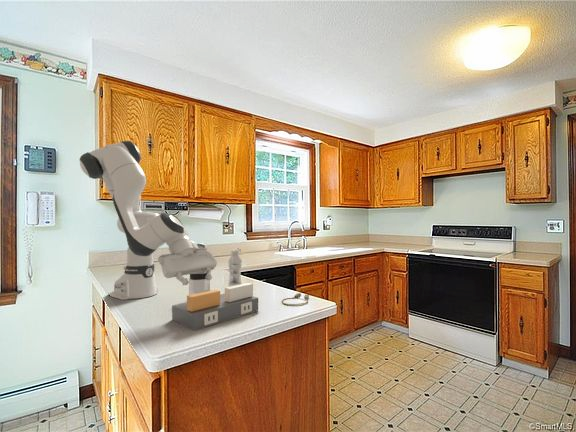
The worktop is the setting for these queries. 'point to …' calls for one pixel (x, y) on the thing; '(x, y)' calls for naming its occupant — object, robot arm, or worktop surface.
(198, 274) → the jar
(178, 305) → the switch box
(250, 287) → the white switch
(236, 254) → the plastic bottle
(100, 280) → the worktop surface
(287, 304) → the extension cord
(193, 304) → the orange switch
